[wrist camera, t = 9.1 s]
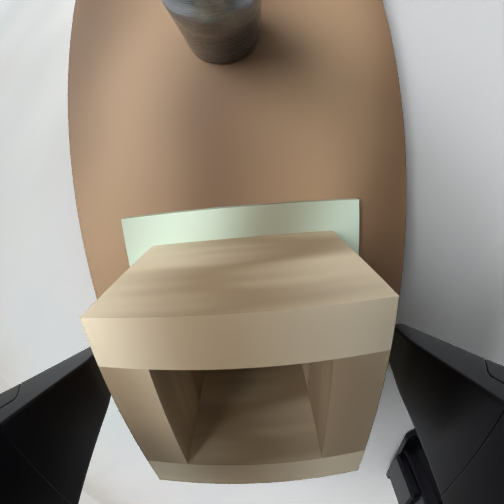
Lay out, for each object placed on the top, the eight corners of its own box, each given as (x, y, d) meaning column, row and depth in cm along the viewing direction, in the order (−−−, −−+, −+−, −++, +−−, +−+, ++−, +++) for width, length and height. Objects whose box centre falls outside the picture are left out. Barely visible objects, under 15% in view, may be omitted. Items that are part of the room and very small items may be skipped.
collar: (332, 230, 10) (398, 296, 5) (328, 372, 11) (357, 470, 7) (152, 245, 10) (79, 317, 5) (184, 381, 12) (159, 479, 7)
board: (355, -35, 8) (367, -55, 6) (372, 371, 14) (383, 393, 12) (93, -8, 8) (76, -23, 6) (143, 385, 14) (133, 408, 12)
